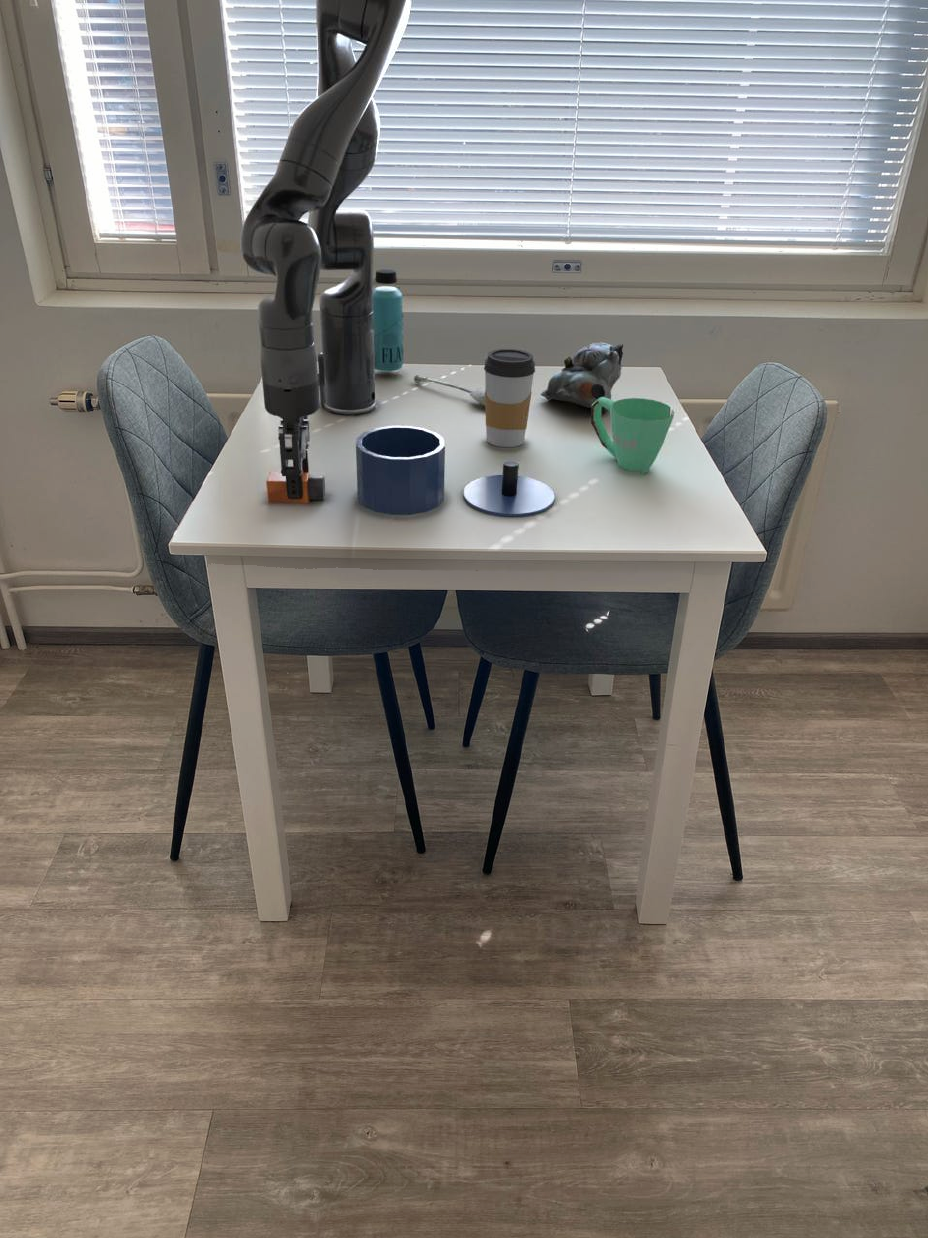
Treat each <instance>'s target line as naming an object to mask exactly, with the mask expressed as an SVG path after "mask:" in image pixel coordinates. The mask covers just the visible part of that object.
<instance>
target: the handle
mask: <svg viewBox="0 0 928 1238" xmlns="http://www.w3.org/2000/svg"><path fill="white" fill-rule="evenodd" d="M265 482H266V493H267V502H268V503H269V504H270V503H272V504H273V503H280V504H281V503H283V504H285V503H290V504H293V503H294V504H296V503H297V504H308V503H310V500H325V499H326V479H325V476H324V475H310V472H308V473H302V482H303V498H302V499H300V500H291V499H288V497H287V487H286V476H282V474H281V471H279V472H278V471H270V472H268V475H267V479H266V481H265Z"/></svg>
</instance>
